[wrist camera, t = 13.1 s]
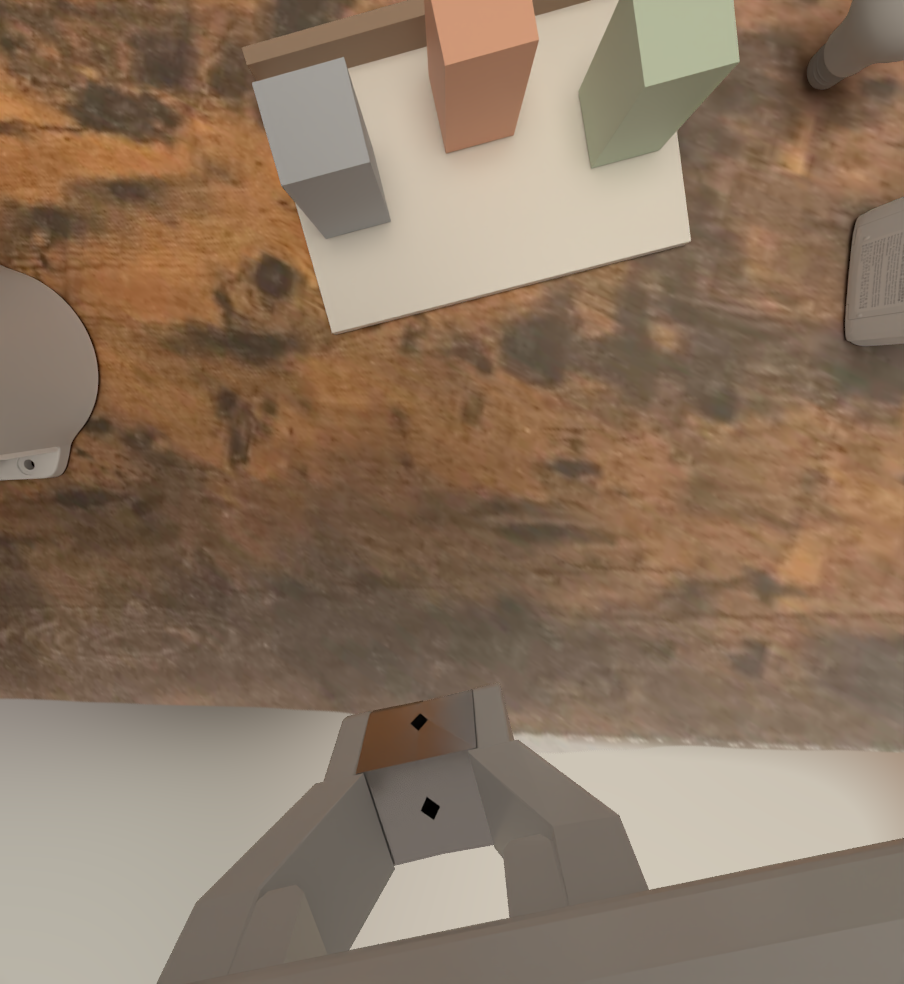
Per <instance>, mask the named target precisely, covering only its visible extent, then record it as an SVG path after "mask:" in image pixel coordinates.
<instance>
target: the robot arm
mask: <svg viewBox="0 0 904 984" xmlns="http://www.w3.org/2000/svg"><path fill="white" fill-rule="evenodd" d="M97 390H98V366H97V360H96V355H95V352H94V348H93V345H92V342H91V340H90V338H89V335H88V333H87V331H86V329H85V327H84V326H83V324H82V322H81V321H80V319H79V318H78V316H77V315H76V314H75V312H74V311H73V310H72V308H71V307H70V306H69V305H68V304H67V303H66V302H65V301H64V300H63V299H62V298H61V297H60V296H59V295H58V294H57V293H55V292H54V291H53V290H52V289H50V288H49V287H47V286H46V285H45V284H43V283H41V282H40V281H38V280H36V279H34V278H32V277H30V276H28V275H26V274H23V273H20V272H17V271H15V270H12V269H9V268H6V267H4V266H2V265H0V480H19V479H40V478H52V477H57V476H60V475H61V474H62V473H63V472H64V470H65V468H66V466H67V462H68V458H69V453H70V447H71V443H72V441H73V439H74V438H75V436H76V435H77V433H78V432H79V431H80V429H81V428H82V427H83V426H84V424H85V423H86V421H87V420H88V418H89V416H90V414H91V412H92V409H93V407H94V404H95V400H96V396H97ZM31 461H33V462H34V464H35V467H33V466H32V464H31ZM490 845H494V847H495V849H496V850H497V851H498V853H499V854H500V855H501V856H502V858H503V859H504V866H505V867H504V868H505V877H506V887H507V897H508V907H509V917H510V918H506V919H501V920H496V921H492V922H486V923H481V924H477V925H471V926H467V927H461V928H457V929H451V930H447V931H442V932H437V933H432V934H427V935H422V936H417V937H412V938H408V939H402V940H397V941H393V942H388V943H383V944H378V945H373V946H368V947H363V948H358V949H353V950H349V949H350V948H351V946H352V944H353V942H354V941H355V939H356V937H357V935H358V934H359V932H360V930H361V928H362V926H363V925H364V923H365V921H366V919H367V918H368V915H369V914H370V912H371V910H372V909H373V907H374V905H375V903H376V902H377V900H378V898H379V896H380V894H381V892H382V891H383V889H384V887H385V886H386V884H387V882H388V880H389V878H390V877H391V875H392V873H393V871H394V870H395V868H394V866H395V865H399V864H403V863H407V862H411V861H415V860H420V859H424V858H428V857H432V856H436V855H440V854H445V853H450V852H456V851H462V850H468V849H473V848H479V847H485V846H490ZM157 984H904V838H902V839H897V840H892V841H887V842H882V843H877V844H872V845H868V846H862V847H857V848H852V849H847V850H842V851H837V852H833V853H827V854H822V855H818V856H813V857H808V858H803V859H798V860H793V861H788V862H783V863H778V864H773V865H768V866H763V867H759V868H754V869H749V870H744V871H739V872H734V873H730V874H725V875H720V876H715V877H710V878H706V879H701V880H696V881H692V882H686V883H682V884H676V885H672V886H667V887H661V888H656V889H652V890H649V889H648V886H647V884H646V881H645V879H644V876H643V874H642V872H641V869H640V866H639V864H638V861H637V859H636V856H635V854H634V851H633V849H632V846H631V844H630V841H629V839H628V836H627V834H626V831H625V829H624V826H623V824H622V821H621V819H620V816H619V815H618V814H616V813H615V812H614V811H613V810H611V809H610V808H609V807H607V806H606V805H604V804H603V803H602V802H601V801H599V800H598V799H597V798H595V797H594V796H592V795H591V794H590V793H589V792H587V791H586V790H585V789H583V788H582V787H581V786H579V785H578V784H576V783H575V782H574V781H572V780H571V779H570V778H568V777H567V776H566V775H564V774H563V773H562V772H560V771H559V770H558V769H556V768H555V767H554V766H552V765H551V764H550V763H548V762H547V761H546V760H544V759H543V758H542V757H540V756H539V755H538V754H536V753H535V752H534V751H532V750H531V749H530V748H528V747H527V746H526V745H524V744H523V743H522V742H520V741H519V740H514V737H513V733H512V729H511V725H510V721H509V717H508V713H507V709H506V705H505V701H504V697H503V693H502V689H501V686H500V684H499V683H498V682H497V683H493V684H489V685H485V686H482V687H478V688H474V689H473V690H472V689H471V690H467V691H463V692H459V693H455V694H451V695H447V696H443V697H439V698H435V699H431V700H427V701H419V702H414V703H409V704H404V705H399V706H394V707H389V708H384V709H379V710H374V711H372V712H371V711H368V712H364V713H359V714H355V715H351V716H347V717H346V718H345V719H344V720H343V721H342V725H341V728H340V731H339V734H338V737H337V741H336V744H335V747H334V750H333V753H332V756H331V760H330V763H329V766H328V769H327V773H326V775H325V779H324V782H321V783H316V784H315V785H314V786H313V787H312V788H311V789H310V790H309V791H308V792H307V793H306V794H305V795H304V796H303V797H302V798H301V799H300V800H299V801H298V802H297V803H296V804H295V805H294V806H293V807H292V808H291V809H290V810H289V811H288V812H287V813H286V814H285V815H284V816H283V817H282V818H281V819H280V820H279V821H278V822H277V823H276V824H275V825H274V826H273V827H272V828H270V830H269V831H267V832H266V834H265V835H264V836H263V837H261V838H260V839H259V840H258V841H257V843H255V844H254V845H253V846H252V847H251V848H250V849H249V850H248V851H247V852H246V853H245V854H244V855H243V856H242V857H241V858H240V860H239V861H237V862H236V863H235V864H234V865H233V866H232V868H230V869H229V870H228V871H227V872H226V873H225V874H224V875H223V876H222V878H220V879H219V880H218V881H217V882H216V883H215V884H214V886H212V887H211V888H210V889H209V890H208V891H207V892H206V893H205V894H204V895H203V896H202V897H201V898H200V899H199V900H198V901H197V902H196V904H195V906H194V908H193V910H192V912H191V914H190V916H189V918H188V920H187V922H186V924H185V926H184V929H183V930H182V932H181V935H180V936H179V939H178V941H177V943H176V945H175V947H174V949H173V951H172V953H171V955H170V957H169V959H168V961H167V963H166V965H165V967H164V969H163V971H162V974H161V975H160V977H159V980H158V982H157Z"/></svg>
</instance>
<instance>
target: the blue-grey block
mask: <svg viewBox="0 0 904 984" xmlns="http://www.w3.org/2000/svg"><path fill="white" fill-rule="evenodd" d="M252 85H253V89H254V92H255V95H256V99H257V102H258V106H259V109H260V113H261V116H262V120H263V123H264V127H265V130H266V134H267V137H268V141H269V144H270V148H271V151H272V155H273V158H274V162H275V165H276V169H277V172H278V176H279V179H280V183H281V186H282V187H283V188H284V190H285V191H286V192H287V193H288V194H289V196H290V197H291V198H292V199H293V200H294V202H295V203H296V204H297V205H298V206H299V207H300V209H301V210H302V211H303V212H304V213H305V215H306V216H307V217H308V218H309V219H310V221H311V222H312V223H313V224H314V225H315V227H316V228H317V229H318V230H319V231H320V233H321V234H322V235H323V236H324V237H325V238H326V239H327V238H331V237H335V236H339V235H342V234H346V233H350V232H354V231H357V230H361V229H365V228H369V227H372V226H376V225H380V224H384V223H388V222H391V220H390V216H389V212H388V207H387V203H386V199H385V195H384V191H383V187H382V183H381V179H380V175H379V171H378V167H377V163H376V159H375V155H374V151H373V147H372V144H371V141H370V137H369V134H368V131H367V128H366V125H365V122H364V119H363V115H362V112H361V109H360V106H359V103H358V100H357V96H356V93H355V90H354V87H353V84H352V81H351V78H350V74H349V71H348V68H347V65H346V62H345V59H344V57H342V58H338V59H335V60H331V61H327V62H324V63H320V64H317V65H313V66H310V67H306V68H303V69H299V70H295V71H292V72H288V73H285V74H281V75H278V76H274V77H271V78H267V79H264V80H260V81H256V82H253V83H252Z"/></svg>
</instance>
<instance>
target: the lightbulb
mask: <svg viewBox="0 0 904 984" xmlns="http://www.w3.org/2000/svg"><path fill="white" fill-rule="evenodd" d="M902 60H904V0H853V1H852V4H851V7H850V10H849V12H848V14H847V16H846V18H845V19H844V20H843V22H842V23H841V24H840V25H839V26H838V27H837V28H836V29H835V30H834V31H833V33H832V34H831V35H830V37H829V38H828V40H827V42H826V43H825V44H824V45H823V46H822V47H821V48H820V49H819V51H818V52H817V53H816V54H815V55H814V56H813V57H812V58H811V60H810V62H809V64H808V67H807V78H808V81H809V83H810V85H811V86H813V87H814V88H816V89H819V90H824V89H828V88H830V87H831V86H833V85H835V84H836V83H838V82H839V81H841V80H842V79H844V78H845V77H848V76H852V75H854V74H856V73H857V72H859V71H860V70H862V69H863V68H865V67H867V66H869V65H871V64H875V63H889V62H897V61H902Z"/></svg>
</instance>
